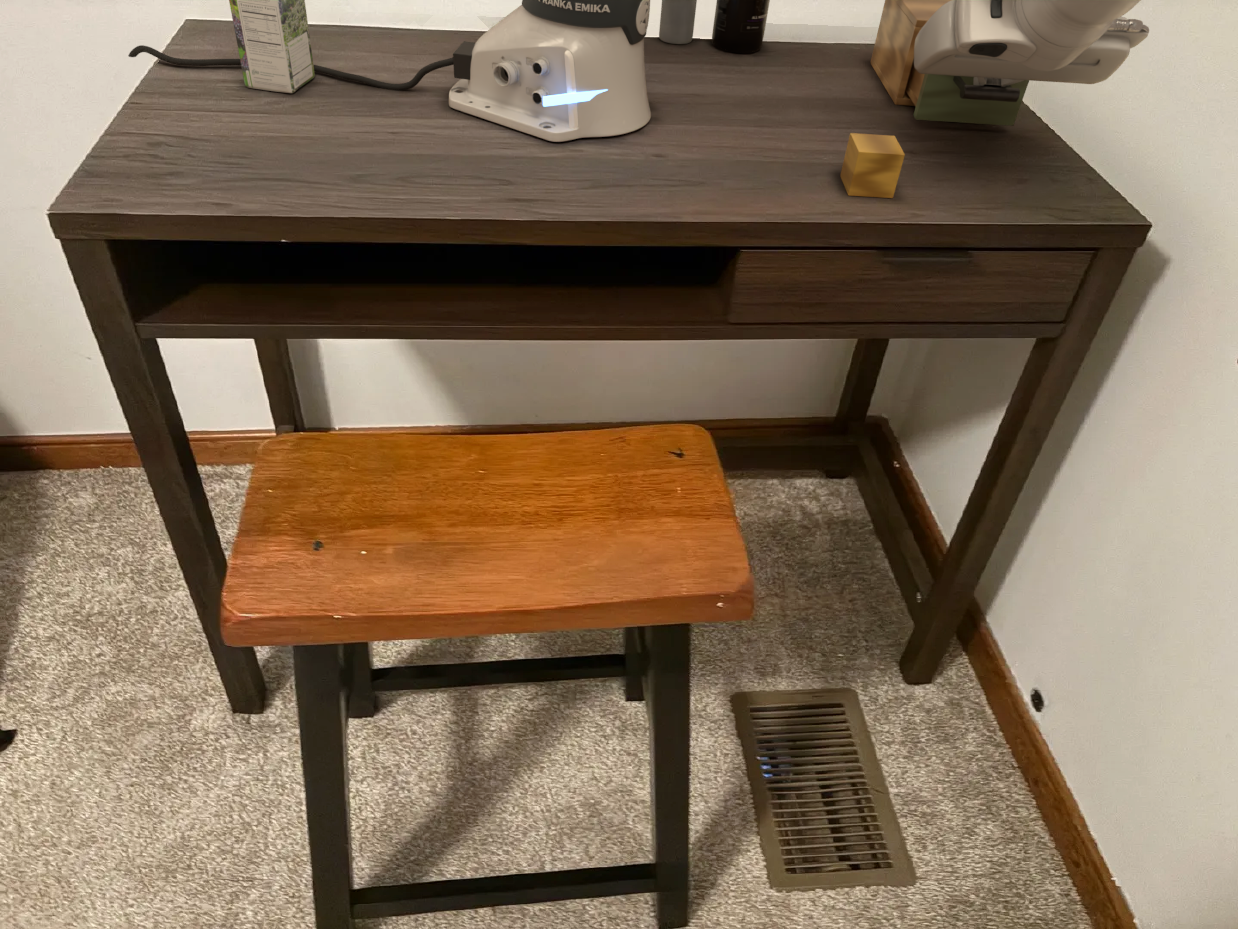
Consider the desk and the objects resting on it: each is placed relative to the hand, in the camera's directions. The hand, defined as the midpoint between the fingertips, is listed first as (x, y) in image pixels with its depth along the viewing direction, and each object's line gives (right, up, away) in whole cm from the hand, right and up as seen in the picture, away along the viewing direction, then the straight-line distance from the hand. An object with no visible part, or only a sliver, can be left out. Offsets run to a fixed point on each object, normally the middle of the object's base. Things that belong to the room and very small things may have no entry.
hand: (986, 84), depth 100 cm
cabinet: (-1, +6, +16) cm, 18 cm away
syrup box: (-78, +1, +3) cm, 78 cm away
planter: (-32, +16, +24) cm, 43 cm away
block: (-15, -13, -7) cm, 21 cm away
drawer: (0, +1, +8) cm, 8 cm away
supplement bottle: (-24, +15, +23) cm, 37 cm away
